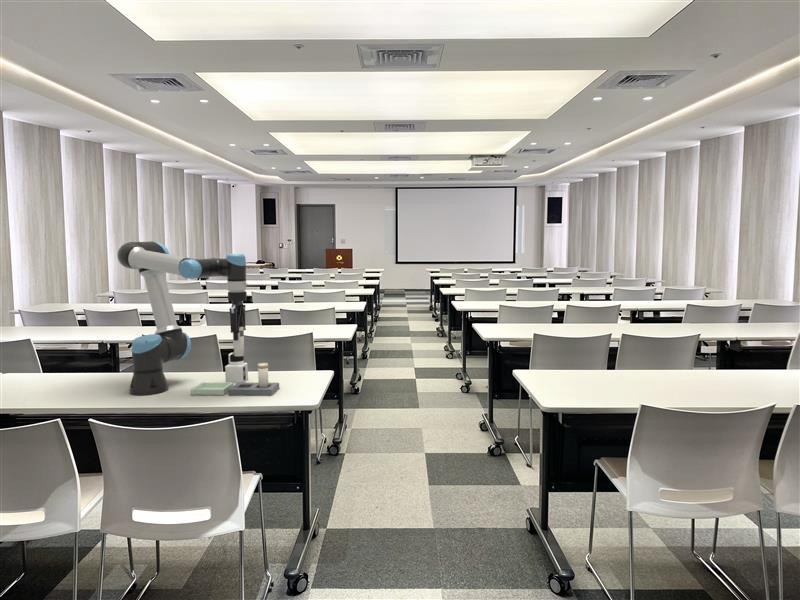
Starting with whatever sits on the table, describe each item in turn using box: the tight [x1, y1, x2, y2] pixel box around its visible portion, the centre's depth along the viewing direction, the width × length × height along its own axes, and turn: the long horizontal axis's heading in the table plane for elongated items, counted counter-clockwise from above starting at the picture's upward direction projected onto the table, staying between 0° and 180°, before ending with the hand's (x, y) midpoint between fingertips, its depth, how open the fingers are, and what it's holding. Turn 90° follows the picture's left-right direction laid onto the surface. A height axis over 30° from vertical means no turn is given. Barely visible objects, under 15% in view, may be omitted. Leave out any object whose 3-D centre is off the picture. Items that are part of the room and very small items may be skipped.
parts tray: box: [189, 381, 235, 397], centre depth 245 cm, size 14×12×2 cm
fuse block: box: [227, 382, 280, 397], centre depth 244 cm, size 18×12×2 cm, turn 87°
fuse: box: [257, 362, 269, 388], centre depth 244 cm, size 4×4×12 cm
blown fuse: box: [233, 326, 245, 357], centre depth 243 cm, size 4×4×12 cm
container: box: [224, 351, 249, 384], centre depth 263 cm, size 8×8×13 cm
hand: (238, 346), depth 243 cm, fingers closed on blown fuse, 4 cm apart
